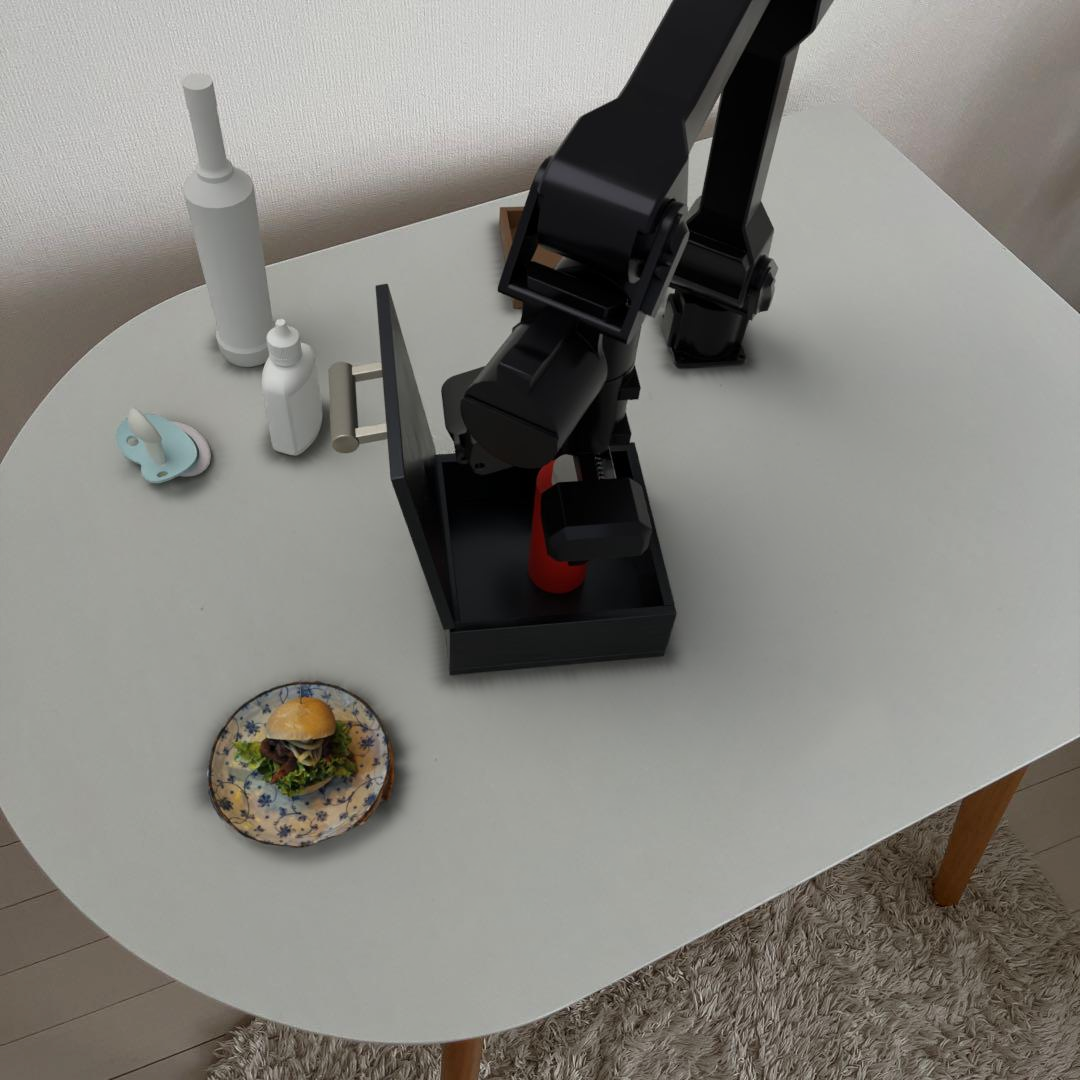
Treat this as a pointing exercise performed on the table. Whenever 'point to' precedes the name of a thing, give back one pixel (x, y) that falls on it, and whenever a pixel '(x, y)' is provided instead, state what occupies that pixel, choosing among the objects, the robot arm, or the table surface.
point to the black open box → (522, 607)
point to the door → (399, 446)
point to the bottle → (226, 234)
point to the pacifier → (162, 447)
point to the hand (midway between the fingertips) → (565, 509)
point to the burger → (300, 765)
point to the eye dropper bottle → (291, 391)
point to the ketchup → (540, 564)
